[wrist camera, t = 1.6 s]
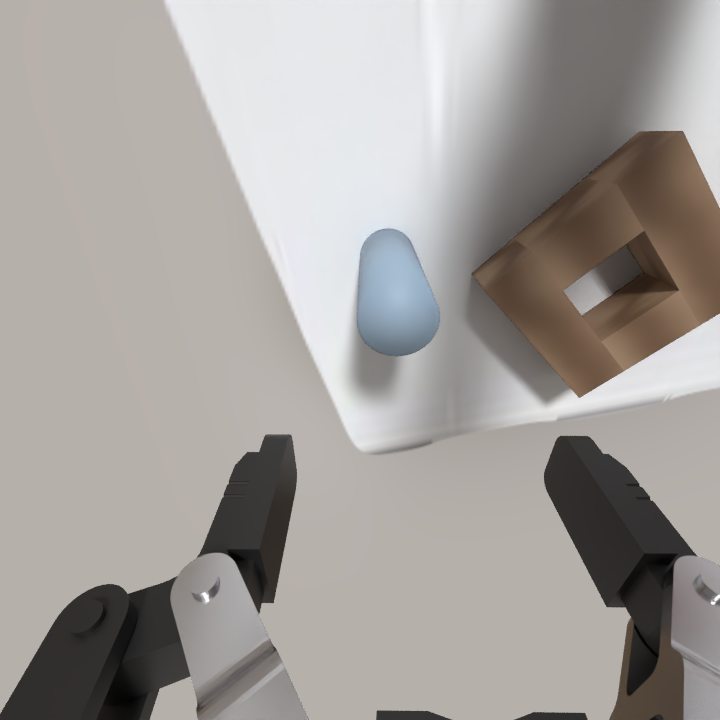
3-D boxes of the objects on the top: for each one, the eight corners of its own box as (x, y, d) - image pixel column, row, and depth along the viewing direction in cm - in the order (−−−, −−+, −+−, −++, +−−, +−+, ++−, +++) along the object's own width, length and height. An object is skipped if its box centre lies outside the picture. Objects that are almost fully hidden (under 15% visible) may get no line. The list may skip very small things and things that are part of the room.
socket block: (639, 131, 25) (682, 130, 21) (713, 272, 30) (758, 290, 26) (471, 273, 30) (485, 291, 27) (558, 372, 35) (579, 397, 32)
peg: (388, 216, 28) (401, 262, 18) (425, 256, 30) (456, 320, 19) (348, 256, 30) (340, 320, 19) (386, 293, 31) (395, 369, 21)
